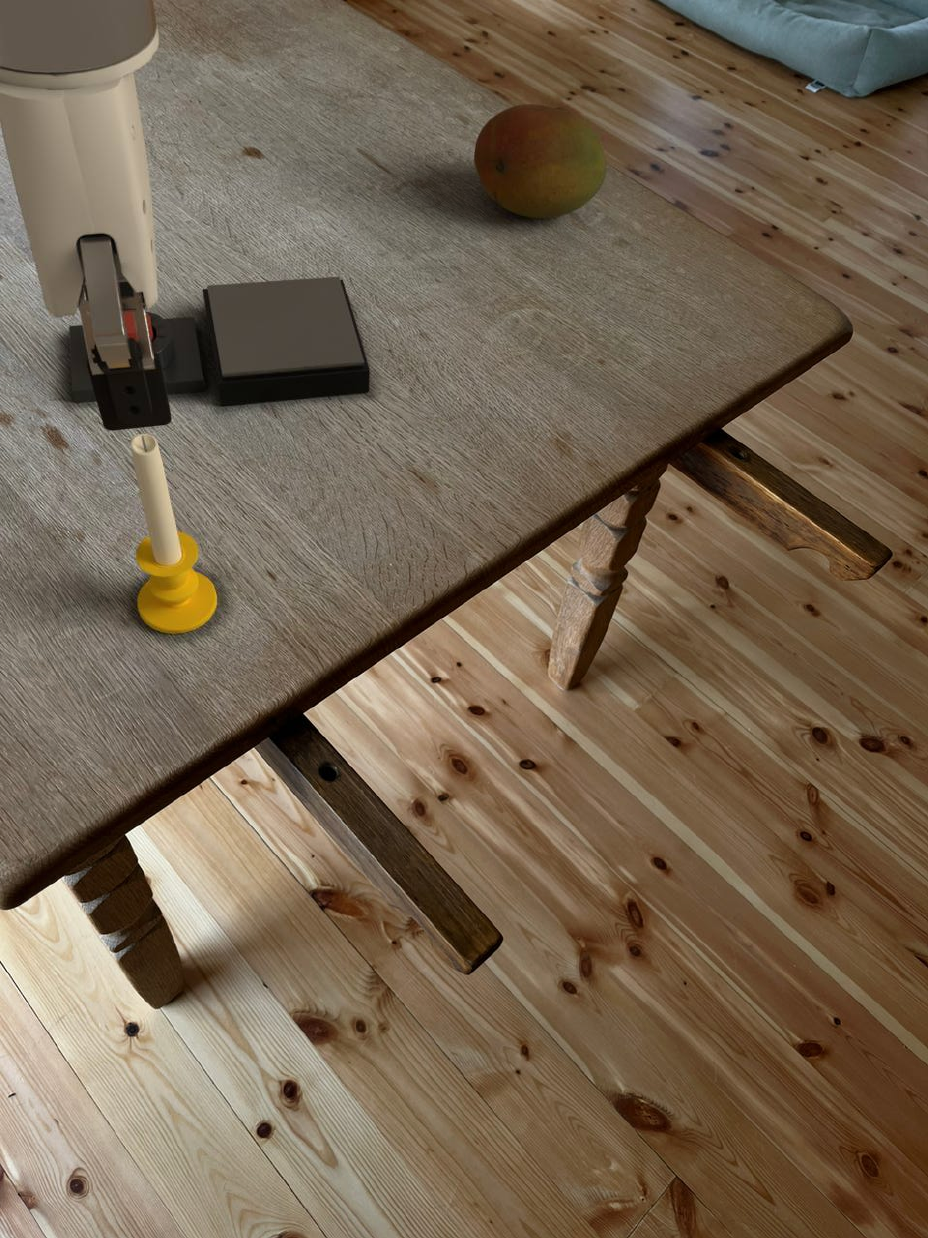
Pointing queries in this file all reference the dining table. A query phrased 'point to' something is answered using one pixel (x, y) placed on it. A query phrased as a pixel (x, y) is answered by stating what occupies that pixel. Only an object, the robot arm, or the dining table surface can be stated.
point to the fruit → (539, 161)
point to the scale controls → (169, 340)
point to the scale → (284, 341)
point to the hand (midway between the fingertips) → (132, 358)
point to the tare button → (131, 325)
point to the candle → (167, 553)
